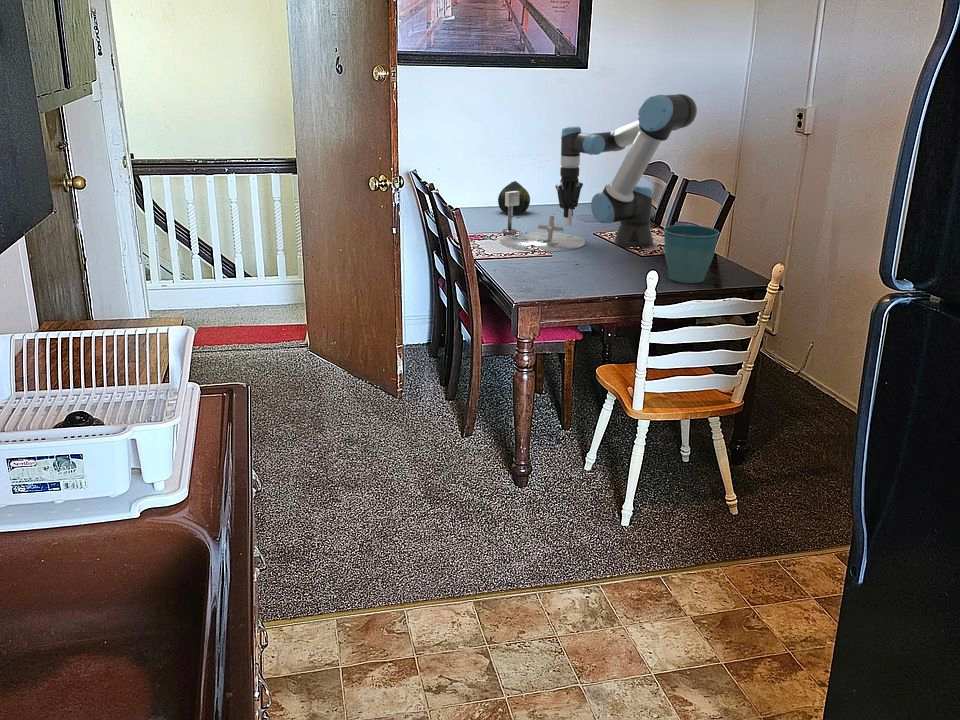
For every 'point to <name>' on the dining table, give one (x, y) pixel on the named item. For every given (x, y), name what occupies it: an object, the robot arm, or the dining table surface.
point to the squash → (523, 198)
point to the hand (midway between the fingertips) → (567, 225)
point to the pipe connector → (550, 227)
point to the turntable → (544, 241)
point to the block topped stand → (511, 208)
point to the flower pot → (689, 251)
